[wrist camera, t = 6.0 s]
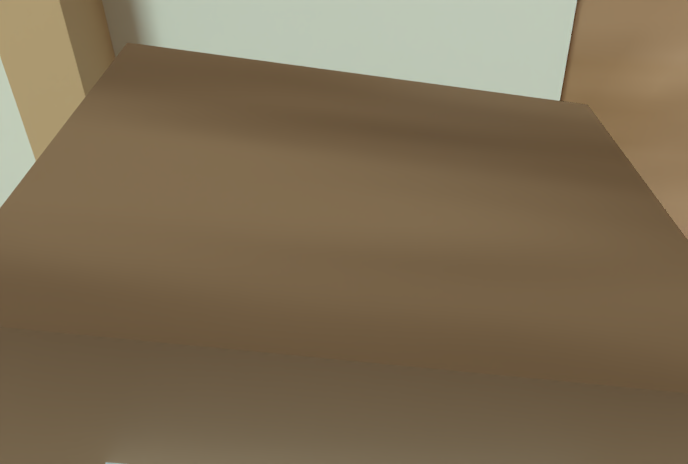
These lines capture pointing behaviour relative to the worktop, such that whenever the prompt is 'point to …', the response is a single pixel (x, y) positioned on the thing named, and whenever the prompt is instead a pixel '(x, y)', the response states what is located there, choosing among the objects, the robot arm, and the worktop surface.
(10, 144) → the wall board
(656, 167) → the worktop surface
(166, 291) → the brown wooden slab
